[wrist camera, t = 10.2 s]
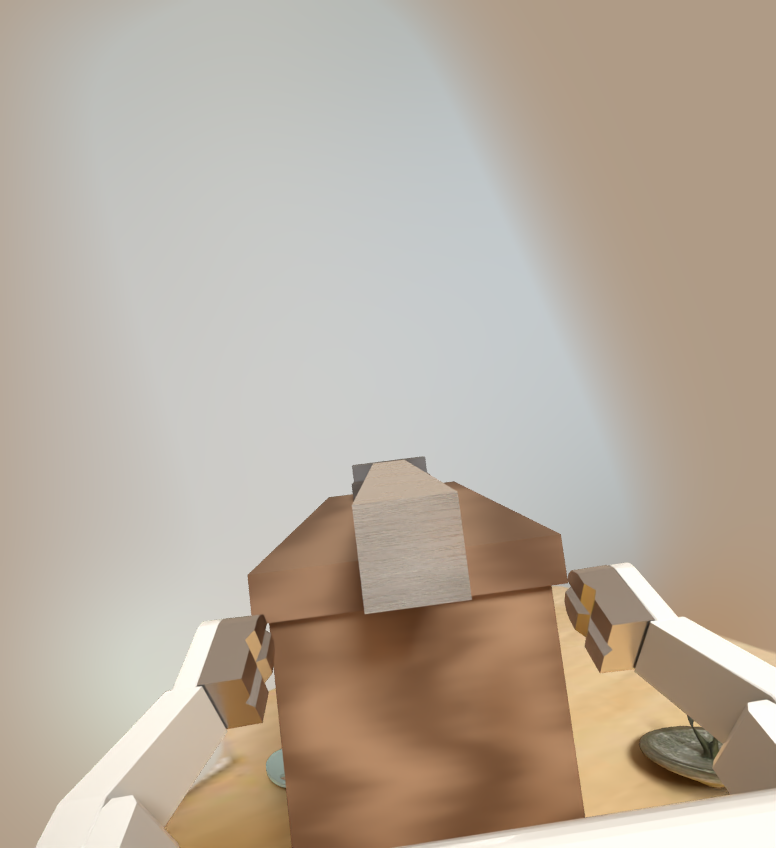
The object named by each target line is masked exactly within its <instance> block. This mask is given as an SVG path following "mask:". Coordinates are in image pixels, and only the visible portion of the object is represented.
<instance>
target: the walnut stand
mask: <svg viewBox="0 0 776 848" xmlns="http://www.w3.org/2000/svg"><path fill="white" fill-rule="evenodd" d="M399 460H406V461H407V462H409V463H411V464H412V465H414V466H416V467H417V468H419V469H421V470H422V471H424V472H426V473H427V469H426V461H425V457H415V458H407V459H399ZM391 461H398V460H391ZM383 462H390V461H383ZM375 463H381V462H375ZM372 465H373V463H367V464H358V465H353V466H352V469H353V478H354V483H353V484H352V490H353V494H352V495H344V496H336V497H329V498H328V499H327V500H326V501H325V502H324V503H322V504H321V505H320V506H319V507H318V508H317V509H316V510H315V511H314V512H313V513H312V514H311V515H310V516H309V517H308V518H307V519H306V520H305V521H304V522H303V523H302V524H301V525H299V526H298V527H297V528H296V529H295V530H294V531H293V532H292V533H291V534H290V535H289V536H288V537H287V538H286V539H285V540H284V541H283V542H282V543H281V544H280V545H279V546H278V547H276V548H275V549H274V550H273V551H272V552H271V553H270V554H269V555H268V556H267V557H266V558H265V559H264V560H263V561H262V562H261V563H260V564H259V565H258V566H257V567H256V568H255V569H254V570H252V571H251V572H250V573H249V574H248V584H249V594H250V604H251V615H252V616H253V615H262V614H263V615H264V617H265V619H266V621H267V623H269V625H270V633H271V634H272V637H273V640H274V647H275V657H274V675H275V685H276V694H277V704H278V714H279V724H280V734H281V743H282V753H283V763H284V773H285V783H286V793H287V802H288V812H289V822H290V832H291V842H292V848H394V847H401V846H407V845H413V844H420V843H426V842H433V841H439V840H445V839H452V838H458V837H464V836H471V835H477V834H484V833H490V832H496V831H503V830H509V829H515V828H522V827H528V826H535V825H541V824H547V823H554V822H560V821H567V820H573V819H579V818H585V813H584V806H583V800H582V793H581V786H580V779H579V772H578V765H577V758H576V751H575V745H574V738H573V731H572V724H571V717H570V710H569V703H568V696H567V690H566V683H565V676H564V669H563V662H562V655H561V648H560V641H559V635H558V628H557V621H556V614H555V607H554V600H553V593H552V587H551V585H558V584H565V583H568V581H567V573H566V567H565V559H564V553H563V547H562V540H561V534H559V533H557V532H555V531H553V530H551V529H549V528H547V527H545V526H543V525H541V524H539V523H537V522H535V521H533V520H531V519H529V518H527V517H525V516H522V515H521V514H519V513H517V512H515V511H513V510H510V509H509V508H507V507H505V506H503V505H501V504H498V503H496V502H494V501H492V500H490V499H488V498H486V497H484V496H482V495H480V494H478V493H476V492H474V491H472V490H470V489H468V488H466V487H464V486H462V485H460V484H458V483H456V482H446V483H444V484H446V485H447V486H449V487H451V488H452V489H454V490H456V491H457V492H458V499H459V506H460V514H461V521H462V529H463V536H464V544H465V551H466V559H467V566H468V574H469V581H470V589H471V596H472V600H467V601H459V602H452V603H444V604H437V605H430V606H422V607H415V608H407V609H400V610H392V611H385V612H377V613H370V614H365V613H364V604H363V596H362V587H361V578H360V570H359V561H358V553H357V544H356V536H355V527H354V518H353V510H352V504H353V502H354V500H355V498H356V496H357V494H358V492H359V490H360V488H361V486H362V484H363V482H364V480H365V478H366V476H367V474H368V472H369V471H370V469H371V467H372ZM427 474H428V473H427ZM429 475H430V474H429Z"/></svg>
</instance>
